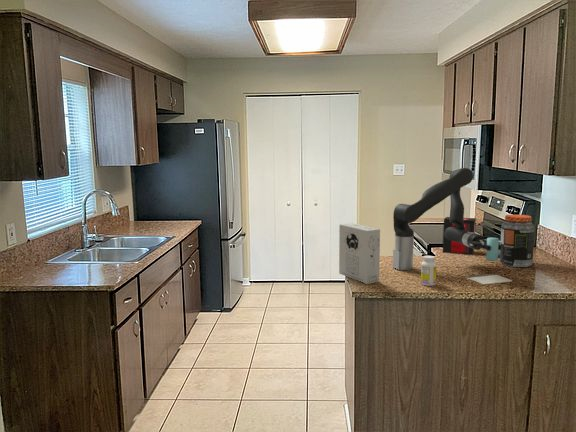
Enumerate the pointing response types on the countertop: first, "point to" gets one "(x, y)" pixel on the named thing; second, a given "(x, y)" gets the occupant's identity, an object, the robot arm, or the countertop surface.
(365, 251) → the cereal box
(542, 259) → the countertop surface
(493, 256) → the teal wooden pin
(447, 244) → the cleaning product box
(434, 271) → the supplement bottle
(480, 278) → the mat
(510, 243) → the supplement tub
